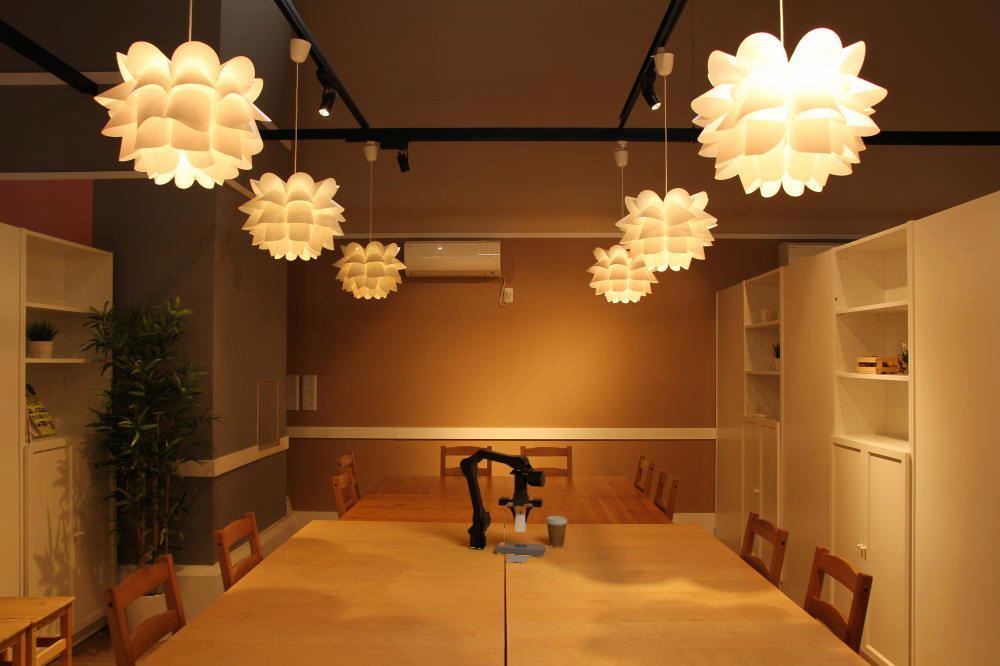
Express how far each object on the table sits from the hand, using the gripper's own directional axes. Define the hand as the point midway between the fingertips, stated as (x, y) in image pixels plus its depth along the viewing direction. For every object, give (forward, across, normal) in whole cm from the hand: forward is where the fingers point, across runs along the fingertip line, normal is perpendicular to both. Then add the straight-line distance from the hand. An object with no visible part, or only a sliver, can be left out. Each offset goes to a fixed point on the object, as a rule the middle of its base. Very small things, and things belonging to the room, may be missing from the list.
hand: (520, 522), depth 261 cm
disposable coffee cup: (+13, +14, +14) cm, 24 cm away
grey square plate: (+13, 0, -10) cm, 16 cm away
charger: (+4, 0, 0) cm, 4 cm away
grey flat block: (+13, 0, 0) cm, 13 cm away
